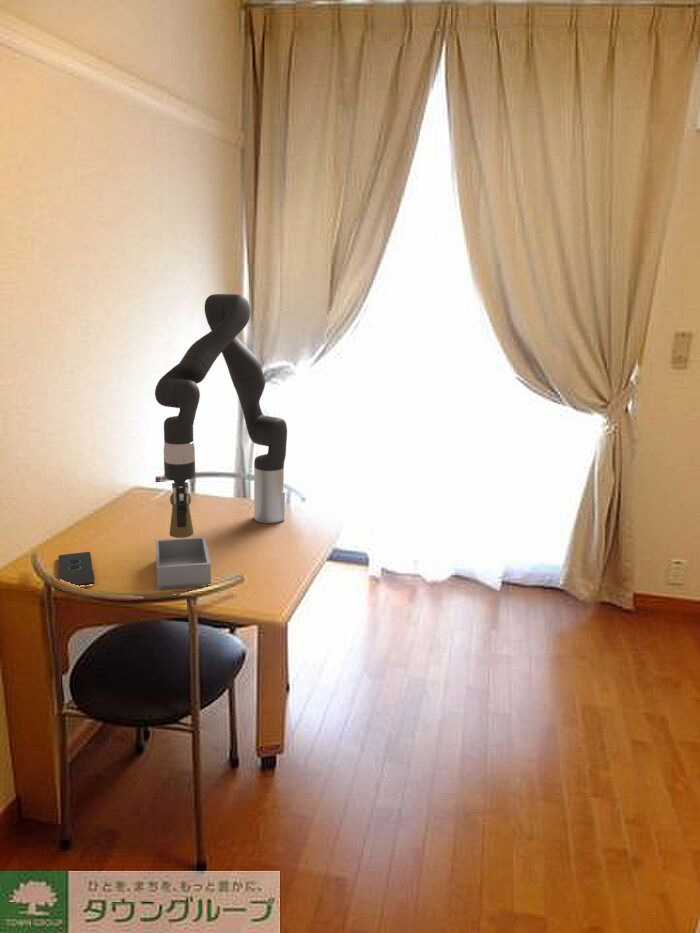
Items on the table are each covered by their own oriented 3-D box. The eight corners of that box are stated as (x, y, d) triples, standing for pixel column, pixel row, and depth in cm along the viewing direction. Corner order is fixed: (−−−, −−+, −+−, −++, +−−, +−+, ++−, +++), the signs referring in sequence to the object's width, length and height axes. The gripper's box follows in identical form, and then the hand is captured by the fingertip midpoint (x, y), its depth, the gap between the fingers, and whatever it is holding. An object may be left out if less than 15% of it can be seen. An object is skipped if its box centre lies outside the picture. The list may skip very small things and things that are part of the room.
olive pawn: (171, 529, 180) (170, 488, 176) (195, 529, 180) (194, 489, 177) (167, 537, 174) (166, 496, 171) (191, 537, 174) (190, 496, 171)
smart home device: (90, 550, 188) (94, 581, 170) (91, 556, 188) (95, 587, 171) (57, 554, 185) (58, 586, 167) (58, 560, 185) (59, 592, 168)
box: (205, 557, 190) (204, 536, 188) (210, 585, 173) (210, 563, 172) (156, 560, 186) (155, 540, 185) (157, 590, 170) (156, 567, 168)
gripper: (196, 466, 166) (198, 532, 171) (193, 451, 179) (194, 513, 184) (164, 467, 164) (166, 534, 169) (163, 452, 177) (165, 514, 182)
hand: (181, 523), depth 176 cm, fingers closed on olive pawn, 4 cm apart
